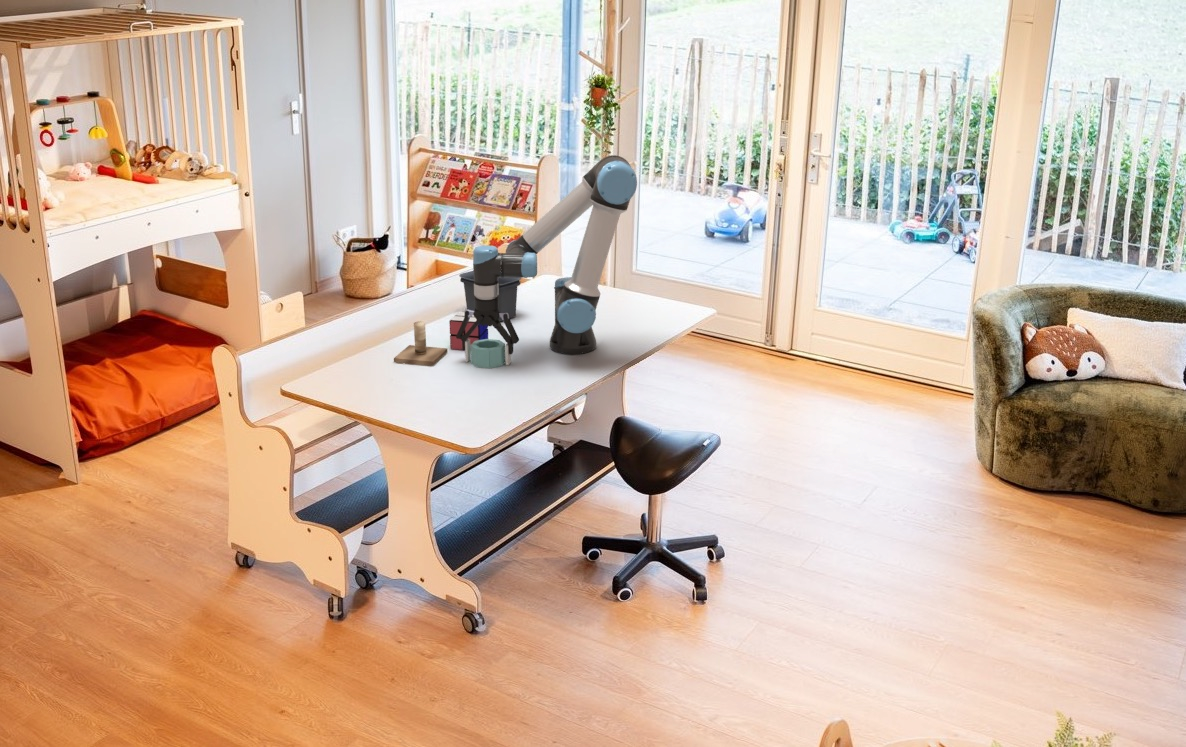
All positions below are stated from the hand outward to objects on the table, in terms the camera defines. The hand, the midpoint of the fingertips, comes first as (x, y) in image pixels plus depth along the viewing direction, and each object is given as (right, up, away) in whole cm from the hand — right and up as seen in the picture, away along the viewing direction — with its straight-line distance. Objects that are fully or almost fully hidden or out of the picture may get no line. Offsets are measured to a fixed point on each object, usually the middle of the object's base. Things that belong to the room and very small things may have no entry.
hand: (488, 362), depth 368 cm
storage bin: (-2, +17, +47) cm, 50 cm away
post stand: (-22, +1, +4) cm, 22 cm away
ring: (0, 0, 0) cm, 0 cm away
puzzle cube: (-7, +5, +15) cm, 18 cm away
